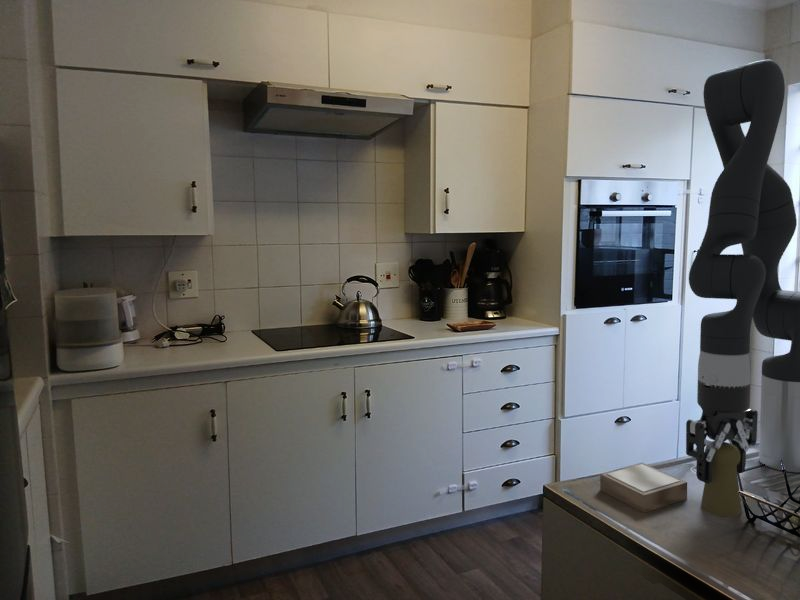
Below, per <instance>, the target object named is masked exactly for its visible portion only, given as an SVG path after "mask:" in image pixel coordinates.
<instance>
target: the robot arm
mask: <svg viewBox="0 0 800 600" xmlns="http://www.w3.org/2000/svg"><path fill="white" fill-rule="evenodd" d="M702 93H703V94H702V95H703V105H704V108H705V110H704V111H705V114H706V117H707V120H708V124H709V127H710V129H711V132H712V136H713V138H714V142H715V144H716V147H717V149H718V153H719V156H720V160H721V162H722V167H723V170H722V171H721V173H720V175H718V178H717V179H716V181H715V183H714V186H713V187H712V191H711V196H710V202H709V203H710V204H709V209H708V219H707V225H706V230H705V232H704V233H705V234H704V236H703V239H702V241H701V244H700V246H699V249H698V251H697V253H696V255H695V257H694V259H693V262H692V264H691V266H690V269H689V273H688V284H689V288H690V289H691V291H692V292H693V294H694V295H695V296H697V297H698V298H701V299H702V298H703V299H720V300H736V302H735V306H734V307H733V308H732V309H730V310H727V311H720V312H713V313H709V314H706V315H704V316H703V317H702V318H701V321H700V336H699V337H700V338H699V339H700V340H699V343H700V344H699V355H698V361H697V362H698V365H697V397H696V401H697V404H698V406H699V407H700V408H701V410H702V412H701V413H702V414H701V416H700V419H698V420H693V419H687V420H686V422H685V423H686V424H685V428H686V430H685V431H686V432H685V434H686V435H685V453H686V455H687V456H689V457H692V458H695V459H696V471H695V473H696V477H697V479H698V481H699V482H703V483H704V484H705V483H710V482H712V461H711V460H712V457H713V455H714V453H715V451H716V450H718V449H719V448H720V446H721V444H722V442H727V441H728V443H730V444H733V445H735V446H736V447H737V448H738V449H739V451H740V462H739V464H738V465H737V466H736V467H737V474H742V473H745V471H746V461H747V459H746V457H747V452H749V450H750V449H749V448H750V446H755V445H756V444H757V437H758V418H759V417H758V415H760V419H759V441H758V442H759V444H758V445H759V446H758V447H759V448H758V461H759V463H761V464H763V465H764V464H765V465H764V466H766V467H769V468H771V469H773V470H777V471H782V465H781V462H780V461H781V460H783V464H784V467H785V470H786V471H785V472H787V473H800V291H798V290H785V289H784V290H783V289H782V287H781V286H780V282H779V270H778V269H779V264H780V261H781V259H782V257H783V256H784V253H785V251H787V248H788V246H789V244H790V242H791V241H792V238H793V236H794V235H795V232H796V229H797V221H798V220H797V215H796V214H797V213H796V209H795V203H794V199H793V193H792V190H791V188H790V185H789V184H788V183H787V181H786V180H785V179H784V178H783V177H782V175H780V174H779V173H778V172H777V171H776V170H775V169H774V168H773V167H772V166H770V165H769V164H768V161H769V157H770V154H771V151H772V147H773V144H774V142H775V137H776V133H777V130H778V126H779V122H780V118H781V115H782V112H783V106H784V102H785V93H786V86H785V78H784V74H783V71H782V68H781V67H780V65H779V63H777V62H776V61H775V60H772V59H769V58H768V59H762V60H757V61H753V62H750V63H747V64H742V65H739V66H736V67H733V68H729V69H725V70H722V71H718V72H715V73H712V74H711V75H709V76H708V77H707V78H706V80H705V82H704V85H703V92H702ZM746 123H749V127H748V130H747V132H746V134H745V133H744V131H743V128H742V125H741V124H746ZM740 244H741V248H742V253H743V254H723V251H724V250H726V249H727V248H729V247H731V246H735V245H740ZM752 321H753V323H754V327H755V329H756V331H757V332H759V334H760V335H761V336H762V337H763V336H764V337H766V338H771V339H776V340H777V339H778V340H783V341H791V346H790V349H789V352H786V353H784V354H779V355H773V356H769V357H766V358H764V359H763V360H762V363H761V377H760V378H761V379H760V381H761V382H760V384H761V386H760V411H759V412H760V414H758V411H757V410H755V409H752V408H750V406H751V404H750V403H751V402H750V401H751V374H752V373H751V370H752V368H751V367H752V365H751V364H752V363H751V356H750V353H751V352H750V349H751V329H752ZM747 431H748V432H749V435H747V434H746V433H747ZM707 437H708V438H709V439H710V440H708V439H707ZM711 440H712V441H711ZM694 446H695V447H694ZM706 446H709V447H708V450H707V452H706V453H705V448H706ZM694 448H695V449H694Z"/></svg>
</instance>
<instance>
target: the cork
mask: <svg viewBox="0 0 800 600" xmlns="http://www.w3.org/2000/svg"><path fill="white" fill-rule="evenodd" d="M708 447H709V446H705V448H704V452H705V453H706V452H707V450H708ZM711 461H712V482H710V483H705V482H704V484H703V490H702V497H701V503H700V507H701V508H702V510H703V511H705V512H707V513H709V514H712V515H714V516H719V517H724V518H725V517H727V518H728V517H729V518H733V517H737V516H740V515H741V514H742V513H743V510H742V502H741V493H740V494H739V493H737V492H736V491H739V492H740V486H739V477H738V472H737V467H736V466H737V465H738V464H739V462H740V451H739V449H738V448H737V447H736V446H735V445H733V444H730V442H727V441H725V442H722V444H721V446H720V448H719V449H718V450H716V451H715V453H714V455H713V457H712V460H711Z"/></svg>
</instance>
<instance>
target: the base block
mask: <svg viewBox="0 0 800 600" xmlns="http://www.w3.org/2000/svg"><path fill="white" fill-rule="evenodd" d="M599 478H600V479H599V484H600V485H599V490H600V491H601V492H604V493H606V494H607V495H609V496H611V497H612V498H613V497H614V498H615V499H617V500H619V501H621V502H623V503H625V504H626V505H628V506H630V507H632V508H634V509H636V510H637V511H640V512H641V513H643V514H645V513H647V512H650V511H653V510H656V509H660V508H663V507H665V506H670V505H671V503H673V504H675V503H674V502H676V503H678V502H681V501H685V500H688V482H687V481H686V480H683V479H681V478H678V477H676V476H674V475H672V474H669V473H667V472H665V471H662V470H660V469H657V468H655V467H653V466H651V465H649V464H646V463H644V462H639V463H635V464H632V465H627V466H625V467H620V468H618V469H612V470H610V471H605V472H602V473H600V474H599Z"/></svg>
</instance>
